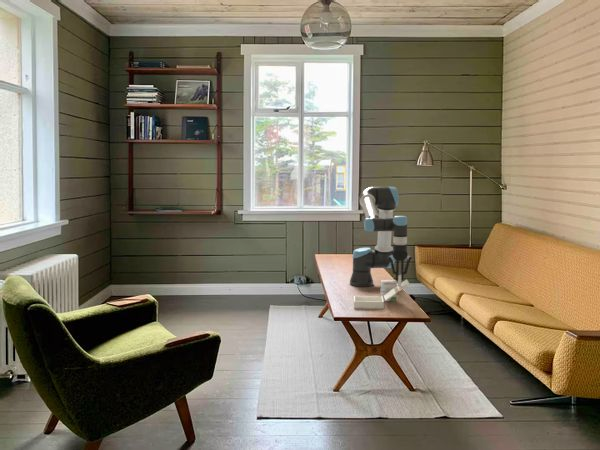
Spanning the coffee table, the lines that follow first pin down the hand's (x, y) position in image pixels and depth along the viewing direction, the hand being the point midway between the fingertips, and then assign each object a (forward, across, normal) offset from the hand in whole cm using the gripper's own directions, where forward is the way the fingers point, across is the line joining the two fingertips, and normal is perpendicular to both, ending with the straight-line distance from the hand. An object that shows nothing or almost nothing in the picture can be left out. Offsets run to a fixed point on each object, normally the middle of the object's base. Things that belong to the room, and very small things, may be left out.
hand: (399, 286), depth 346 cm
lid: (+2, -2, +1) cm, 3 cm away
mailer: (+12, -17, +1) cm, 21 cm away
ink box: (+12, -5, +14) cm, 19 cm away
